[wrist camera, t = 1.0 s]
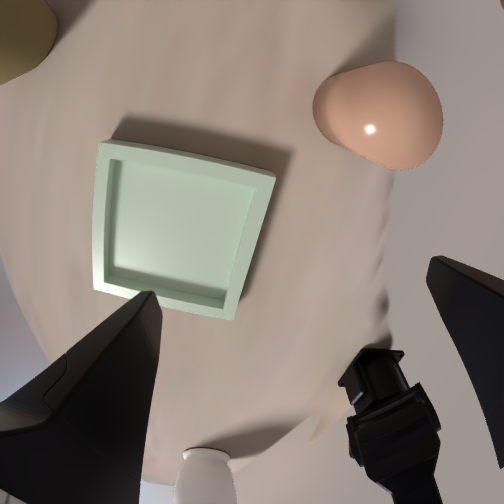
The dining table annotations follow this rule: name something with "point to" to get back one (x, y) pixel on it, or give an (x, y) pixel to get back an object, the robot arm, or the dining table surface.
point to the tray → (176, 225)
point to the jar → (204, 478)
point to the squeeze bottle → (24, 36)
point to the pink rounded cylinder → (381, 114)
